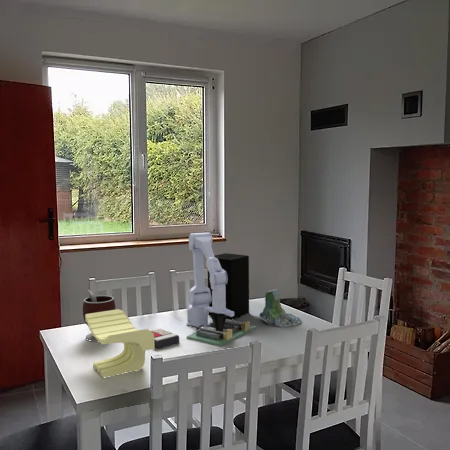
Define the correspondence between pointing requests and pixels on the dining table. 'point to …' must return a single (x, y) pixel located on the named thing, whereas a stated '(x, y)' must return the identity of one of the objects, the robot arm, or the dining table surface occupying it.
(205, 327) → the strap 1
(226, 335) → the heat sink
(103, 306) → the mate gourd
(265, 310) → the tree stump
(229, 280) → the video game console
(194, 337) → the circuit board
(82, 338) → the dining table surface
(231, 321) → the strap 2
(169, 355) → the dining table surface
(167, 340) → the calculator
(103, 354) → the dining table surface
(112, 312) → the slatted curved stool
